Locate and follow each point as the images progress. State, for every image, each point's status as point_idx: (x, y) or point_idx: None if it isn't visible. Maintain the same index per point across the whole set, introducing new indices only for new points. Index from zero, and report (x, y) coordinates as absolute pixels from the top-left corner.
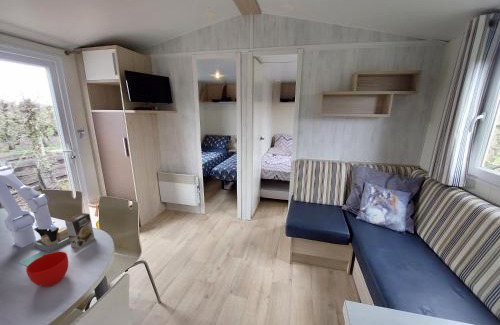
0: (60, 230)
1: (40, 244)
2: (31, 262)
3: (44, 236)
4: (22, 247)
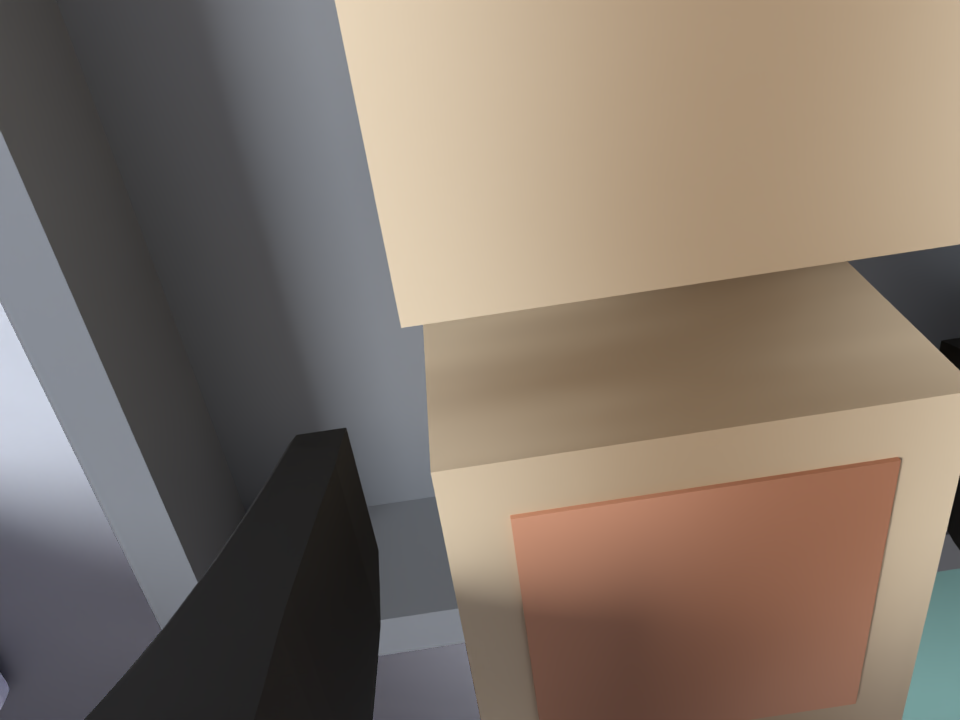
0: (831, 40)
1: None
2: (931, 711)
3: (632, 715)
4: (5, 696)
